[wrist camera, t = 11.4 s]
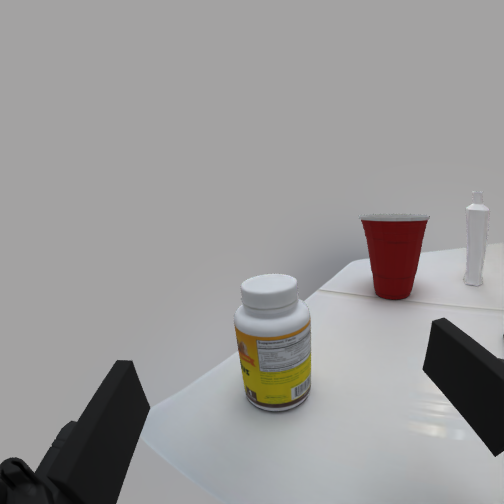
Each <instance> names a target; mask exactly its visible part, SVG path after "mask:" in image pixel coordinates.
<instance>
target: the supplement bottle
mask: <svg viewBox="0 0 504 504" xmlns="http://www.w3.org/2000/svg"><path fill="white" fill-rule="evenodd" d="M241 293H242V298H241V300H242V302H243V304H242V305H241V306H240V307H239V308H238V309H237V310H236V312H235V315H234V324H235V331H236V336H237V344H238V350H239V356H240V363H241V369H242V375H243V381H244V387H245V392H246V395H247V397H248V399H249V400H250V402H251V403H253V404H254V405H255V406H257V407H259V408H261V409H264V410H269V411H283V410H287V409H291V408H293V407H296V406H297V405H299V404H300V403H302V402H303V401H304V400H305V399H306V397H307V396H308V394H309V392H310V387H311V323H310V311H309V308H308V306H307V305H306V304H305V303H304V302H303V301H302V300H300V299H299V298H298V296H299V294H298V288H297V280H296V279H295V278H294V277H292V276H289V275H283V274H266V275H260V276H255V277H252V278H249V279H247V280H245V281H244V282H243V283H242V284H241Z"/></svg>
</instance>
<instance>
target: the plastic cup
mask: <svg viewBox="0 0 504 504" xmlns="http://www.w3.org/2000/svg"><path fill="white" fill-rule="evenodd" d="M429 217H430V216H427V215H412V214H375V215H374V214H373V215H360V216H359V219H361V221H362V224H363V228H364V230H365V236H366V239H367V244H368V251H369V257H370V264H371V271H372V273H373V282H374V288H375V292H376V295H378V296H379V297H382V298H385V299H392V300H395V299H403V298H406V297H408V296H409V295H410V293H411V290H412V287H413V283H414V278H415V275H416V272H417V267H418V262H419V257H420V252H421V247H422V240H423V237H424V232H425V229H426V224H427V221H428V220H429Z"/></svg>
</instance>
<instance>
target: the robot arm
mask: <svg viewBox="0 0 504 504" xmlns="http://www.w3.org/2000/svg"><path fill="white" fill-rule="evenodd" d="M423 371H424V372H425V373H426V374H427V375H428V377H429V378H430V379H431V380H432V381H433V382H434V383H435V385H436V386H437V387H438V388H439V389H440V390H441V391H442V393H443V394H444V395H445V396H446V397H447V398H448V400H449V401H450V402H451V403H452V404H453V406H454V407H455V408H456V409H457V410H458V411H459V413H460V414H461V415H462V416H463V417H464V419H465V420H466V421H467V422H468V424H469V425H470V426H471V427H472V428H473V430H474V431H475V432H476V433H477V435H478V436H479V437H480V438H481V440H482V441H483V442H484V443H485V445H486V446H487V447H488V449H489V450H490V451H491V452H492V454H493V455H494V456H495V457H496V456H497V455H499V454H500V453H502V452H503V451H504V360H503V359H500V358H499V359H498V358H497V357H495V356H494V355H493V354H492V353H490V352H489V351H488V350H486V349H485V348H484V347H483V346H481V345H480V344H479V343H477V342H476V341H475V340H474V339H472V338H471V337H470V336H468V335H467V334H466V333H464V332H463V331H462V330H460V329H459V328H458V327H456V326H455V325H454V324H452V323H451V322H450V321H448V320H447V319H446V318H441V319H438V320H434V321H432V325H431V331H430V337H429V342H428V347H427V352H426V357H425V361H424V365H423ZM149 410H150V406H149V403H148V401H147V399H146V396H145V393H144V391H143V388H142V386H141V383H140V381H139V378H138V376H137V373H136V370H135V367H134V364H133V362H132V361H127V360H117V361H116V362H115V364H114V365H113V367H112V368H111V370H110V371H109V373H108V374H107V376H106V377H105V379H104V380H103V382H102V383H101V385H100V387H99V388H98V390H97V391H96V393H95V394H94V396H93V398H92V399H91V401H90V402H89V404H88V405H87V407H86V409H85V410H84V412H83V413H82V415H81V416H80V418H79V420H78V421H77V422H75V421H71V422H69V423H68V424H67V425H65V426H64V427H63V428H62V429H61V431H60V432H59V434H58V435H57V437H56V439H55V440H54V442H53V443H52V447H50V448H49V450H48V451H47V453H46V455H45V456H44V458H43V460H42V461H41V463H40V465H39V466H38V468H37V470H36V471H35V473H34V472H33V471H32V470H31V469H30V467H29V466H28V465H27V464H26V463H25V462H24V461H23V460H22V459H19V458H16V457H15V458H9V459H6V460H4V461H3V462H2V463H1V464H0V504H116V503H117V500H118V496H119V494H120V491H121V488H122V485H123V482H124V479H125V476H126V473H127V470H128V467H129V464H130V461H131V458H132V456H133V453H134V450H135V448H136V444H137V442H138V439H139V437H140V434H141V431H142V429H143V426H144V423H145V420H146V418H147V415H148V413H149Z"/></svg>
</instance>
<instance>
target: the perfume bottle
mask: <svg viewBox="0 0 504 504" xmlns="http://www.w3.org/2000/svg"><path fill="white" fill-rule="evenodd" d="M472 194H473V204H471V205H470V206H468V207H466V222H467V263H466V273H465V276H464V279H463V280H464V282H465V284H468V285H474V286H479V285H480V284H481V283H482V282H483V281H482V270H483V264H484V258H485V251H486V244H487V236H488V226H489V214H490V209H488V208H487V207H486V206H484V205H483V199H482V198H483V192H477V191H472Z"/></svg>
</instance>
